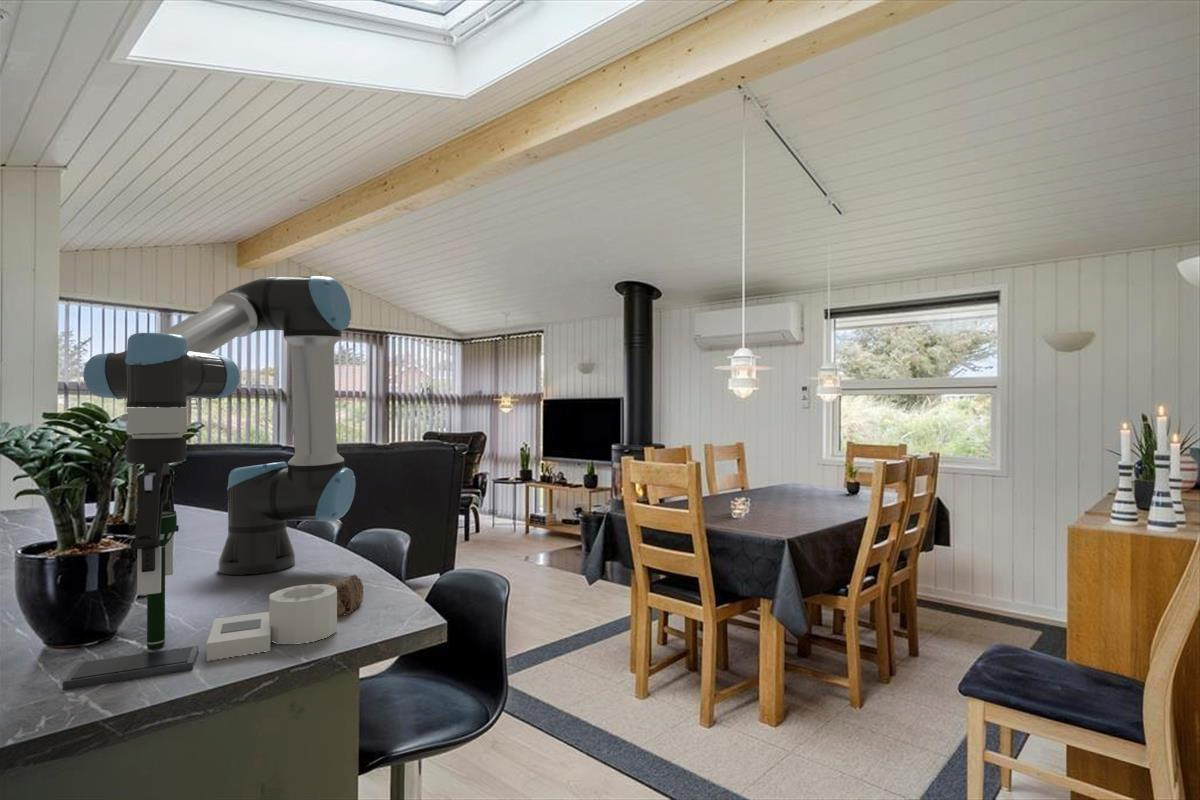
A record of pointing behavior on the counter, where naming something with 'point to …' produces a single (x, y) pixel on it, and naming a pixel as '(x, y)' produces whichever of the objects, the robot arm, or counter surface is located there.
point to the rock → (348, 593)
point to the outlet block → (277, 622)
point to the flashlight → (158, 599)
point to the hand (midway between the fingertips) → (156, 584)
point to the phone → (131, 667)
